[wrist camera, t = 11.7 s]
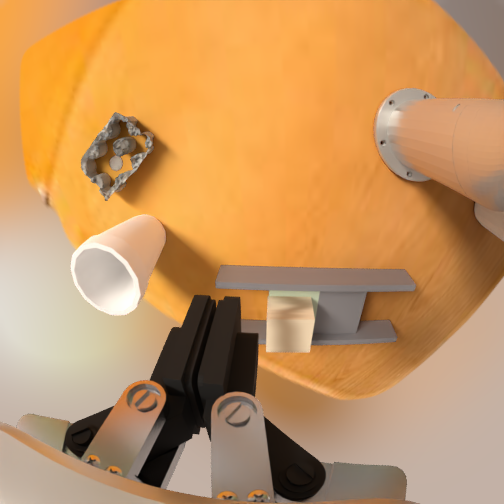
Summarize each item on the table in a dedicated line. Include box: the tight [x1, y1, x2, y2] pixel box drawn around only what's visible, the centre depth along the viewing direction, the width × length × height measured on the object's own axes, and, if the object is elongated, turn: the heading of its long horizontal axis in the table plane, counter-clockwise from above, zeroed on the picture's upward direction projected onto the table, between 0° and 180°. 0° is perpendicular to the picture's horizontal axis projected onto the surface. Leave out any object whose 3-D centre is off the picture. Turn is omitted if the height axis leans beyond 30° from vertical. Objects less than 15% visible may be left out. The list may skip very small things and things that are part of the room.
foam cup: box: [71, 214, 166, 315], centre depth 34 cm, size 10×9×13 cm
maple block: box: [266, 296, 315, 352], centre depth 38 cm, size 6×6×5 cm
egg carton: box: [81, 112, 154, 201], centre depth 33 cm, size 11×8×4 cm
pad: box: [269, 290, 320, 331], centre depth 41 cm, size 7×9×3 cm
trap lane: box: [215, 265, 416, 345], centre depth 40 cm, size 28×11×4 cm, turn 90°
